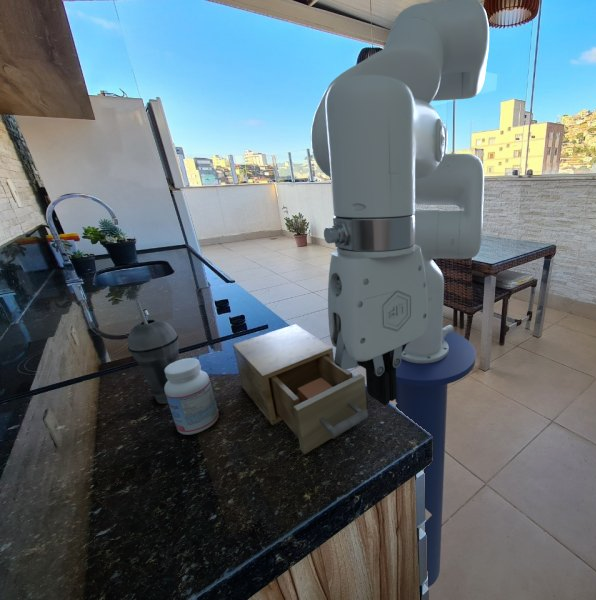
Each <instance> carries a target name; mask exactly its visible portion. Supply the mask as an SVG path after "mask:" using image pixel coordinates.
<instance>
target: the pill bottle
mask: <svg viewBox="0 0 596 600" xmlns="http://www.w3.org/2000/svg"><path fill="white" fill-rule="evenodd" d="M165 375H166V378H167V380H168V381H167V382H166V384H165V387H164V391H165V394H166V397H167V401H168V403H167V404H168V406H169V410H170V413H171V416H172V419H173V422H174V426H175V428H176V430H177V432H178V433H180V434H182V435H190V436H191V435H194V434H195V435H196V434H199V433H201V432H203V431H205V430H207V429H209V428H210V427H212V426H213V425H214V424H215V423H216V422H217V420H219V419H218V418H219V415H220V414H219V410H218V406H217V401H216V398H215V394H214V391H213V386H212V383H211V380H210V376H209V374H208V373H207V372H206V371H205V370H202V365H201V363H200V360H199V359H197V358H195V357H187V358H182V359H181V358H180V360H178V361H175V362H173V363H171V364H169V365H168V366H167V367H166V368H165Z"/></svg>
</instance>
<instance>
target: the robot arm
mask: <svg viewBox="0 0 596 600" xmlns="http://www.w3.org/2000/svg"><path fill="white" fill-rule="evenodd" d="M489 25H490V24H489V19H488V15H487V11H486V9H485V7H484V5H483V4H482V3H481V2H480V1H479V0H438V1H428V2H420V3H416V4H413V5H410V6H408V7H406V8H403V10H402V11H400V12H399V14H398V15H397V16H396V18H395V19H394V20H393V23H392V26H391V29H390V31H389V33H388V35H387V39H386V41H385V44H384V46H383V48H382V49H380V50H378V51H377V52H375V53H373V54H371V55H369V57H367V58H365V59H363V60H362V61H360V62H359V63H357V64H355V65H354V66H353V65H352V67H350V68H348V69H346V70H345V71H343V72H342V73H340V74H339V75H337V77H336V78H334V79H333V80H332V81H331V82H330V84H328V86H327V87H326V89H325V91H324V93H323V95H322V97H321V98H320V101H319V103H318V105H317V107H316V110H315V112H314V116H313V119H312V123H311V129H310V144H311V145H310V147H311V151H312V155H313V158H314V161H315V163H316V165H317V166H318V168H319V169H320V171H321V172H322V173H323V174H324V175H326V176H327V177H329V178H330V181H331V182H330V183H331V195H332V206H333V207H332V208H333V209H332V210H333V218H332V222H333V225H332V226H330V227H329V226H328V227H325V228H324V229H323V237H324V238H323V239H324V241H325V242H326V243H327V244H329V245H330V244H334V246H335V248H336V251H333V252H331V256H330V262H329V271H328V281H327V283H328V284H327V315H328V318H327V319H328V328H329V337H330V338H329V339H330V342H331V344H332V346H333V347H335V353H334V363H335V364H336V365H337V366H339V367H340V368H341V369H343V370H345V369H346V370H351V369H355V368H358V367H361V368H364V369H365V383H366V391H367V394H368V395H369V396H370V397H371V398H372V399H375V400H376V401H377V402H379V403H380V404H382V405H383V406H387V405H388V404H390V402H393V401H396V398H397V397H396V368H397V367H398V366H399V365H400V363H401V359H403V360H405V361H408V362H412V363H421V364H424V363H433V362H436V361H439V360H441V359H443V358H444V357H446V355H447V354H448V351H449V346H448V344H447V342H446V341H445V340H444V337H446V335H447V334H449V333H451V332H454V331H455V328H454V326H453V325H452V324H448V325H446V326H444V301H445V300H444V298H445V297H444V294H445V278H444V274H443V272H442V270H441V268H439V266H438V264H436V262H435V261H434V259H436V260H438V259H445V260H448V259H450V260H452V259H453V260H465V259H466V260H468V259H472V258H475V257H476V256H478V254H479V252H480V250H481V247H482V239H483V226H484V225H483V222H484V221H483V220H484V202H485V201H484V198H485V170H484V164H483V162H482V160H481V158H480V157H479V156H477V155H475V154H474V153H473V154H472V153H448V142H449V131H448V128H447V126H446V124H445V122H444V121H443V119H442V118H441V116H440V115H439V114H438V112H437V111H436V109H435V108H434V107H433V106H432V104H431V103H432V102H441V101H454V100H467V99H472V98H475V97H476V96H477V95H478V94H479V93H480V92H481V90H482V88H483V86H484V83H485V78H486V72H487V71H486V70H487V62H488V57H489V50H490V49H489V48H490V26H489ZM416 205H422V206H424V205H425V206H457V208H459V209H460V210H440V209H437V210H436V209H426V210H425V209H423V210H422V209H419V210H418V209H417V210H416ZM443 326H444V327H443Z"/></svg>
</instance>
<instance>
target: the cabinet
mask: <svg viewBox="0 0 596 600" xmlns="http://www.w3.org/2000/svg"><path fill="white" fill-rule="evenodd" d="M232 348H233V353H234V358H235V361H236V365H237V371H238V375H239V379H240V383H241V387H242V389H243V390H244V391H245V393H246V394H247V395H248V396H249V397H250V399H251V400H252V402H253V403H254V404H255V406H257V408H258V409H259V410H260V411H261V413H262V414H263V415H264V417H265V418H266V419H267V420H268V422H269V423H270V424H271V426H274V425H276V424H277V423H280V422H282V421H283V420H282V418H281V417H280V416H279V415H278V414H277V413H276V411H275V410H274V405H273V400H272V395H271V389H270V384H269V379H268V378H270V377H273V376H275V375H277V374H280V373H282V372H285V371H287V370H290V369H292V368H294V367H297V366H299V365H302V364H304V363H307V362H309V361H311V360H314V359H316V358H319V357H321V356H324V355H326V356H328V357H329V358H331V359H332V360H333V361H334V360H335V356H334V348H333V347H332V346H330V345H329V344H327V343H326V342H325V341H322V340H321V339H319V337H316V336H314V335H313V334H312V333H310V332H308V331H307V330H305V329H304V328H302V327H301V326H299V325H298V324H296V323H294V324H292V325H289V326H285V327H282V328H278V329H276V330H273V331H270V332H267V333H264V334H260V335H257V336H254V337H251V338H247V339H245V340H242V341H239V342H235V343H232Z"/></svg>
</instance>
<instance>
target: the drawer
mask: <svg viewBox="0 0 596 600" xmlns="http://www.w3.org/2000/svg"><path fill="white" fill-rule="evenodd" d="M319 378H322V379H324V380H325V381H326V382H327V383H329V384H330V385H331V386H332V388H330V389H328V390H326V391H324V392H322V393H320V394H318V395H316V396H314V397H312V398H310V399H308V400H306V401H304V402H302V403H300V402H299V396H298V389H297V388H299V387H302V386H304V385H306V384H308V383H310V382H312V381H315V380H317V379H319ZM268 379H269V384H270V389H271V395H272V400H273V405H274V410H275V411H276V413H277V414H278V415H279V416H280V417H281V418H282V421H283V422H284V423H285V425H286V426H287V427H288V428H289V429H290V430H291V432H292V433H293V434H294V435H295V436H296V437H297V439H298V442H299V449H300V452H302V454H303V455H306V454H308V453H310V452H311V451H313V450H315V449H316V448H318V447H319V446H321V445H323V444H324V443H325V442H327V441H329V440H331V439H336V438H337V437H339V436H341V435H342V434H344V433H346V432H347V431H348V430H350V429H352V428H353V427H355V426H356V425H358V424H360V423H361V422H363V421H365V420H367V419H368V418H369V413H368V410H367V409H368V408H367V395H366V376H364V375H362V374H361V373H359V374H357V375H355V376H353V373H352V372H351V371H349V369H345V370H343V369H341V368H340V367H339V366H337V365H336V364H335V363H334V361H333V360H332V359H331V358H329V357H328V356H326V355H324V356H321V357H319V358H316V359H314V360H311V361H309V362H307V363H304V364H302V365H299V366H297V367H294V368H292V369H290V370H287V371H285V372H282V373H280V374H277V375H275V376H273V377H270V378H268Z"/></svg>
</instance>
